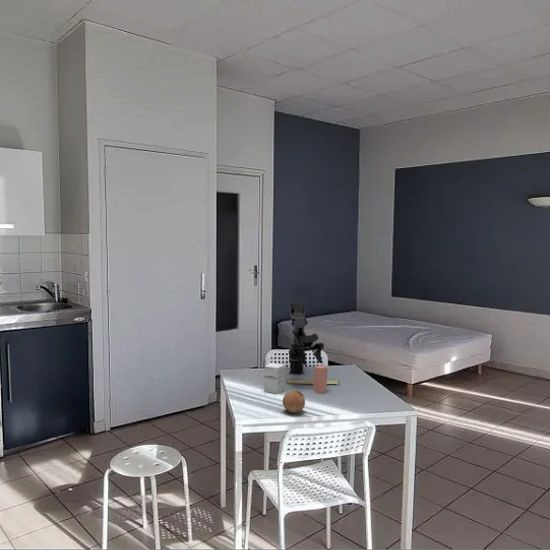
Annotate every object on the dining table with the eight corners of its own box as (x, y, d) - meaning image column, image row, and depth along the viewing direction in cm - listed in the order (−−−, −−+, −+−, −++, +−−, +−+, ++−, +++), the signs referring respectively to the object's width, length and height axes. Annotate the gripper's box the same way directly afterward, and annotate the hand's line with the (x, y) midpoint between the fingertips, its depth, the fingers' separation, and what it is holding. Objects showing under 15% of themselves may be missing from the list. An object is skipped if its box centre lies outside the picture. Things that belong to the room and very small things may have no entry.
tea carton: (313, 391, 247) (313, 366, 246) (321, 389, 250) (322, 365, 249) (318, 393, 244) (319, 368, 243) (326, 391, 247) (327, 367, 246)
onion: (298, 416, 221) (307, 394, 223) (300, 418, 212) (309, 395, 214) (278, 407, 221) (287, 385, 223) (279, 409, 212) (288, 386, 214)
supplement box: (263, 391, 244) (264, 365, 243) (270, 387, 251) (271, 362, 250) (277, 394, 241) (277, 367, 240) (284, 390, 247) (284, 364, 246)
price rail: (286, 382, 260) (287, 378, 260) (338, 383, 260) (338, 379, 260) (287, 384, 258) (287, 379, 257) (338, 385, 258) (339, 380, 257)
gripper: (292, 329, 249) (305, 357, 240) (322, 326, 259) (336, 352, 250) (283, 342, 256) (295, 369, 247) (312, 339, 266) (325, 365, 258)
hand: (313, 364), depth 251 cm, fingers open, 9 cm apart
